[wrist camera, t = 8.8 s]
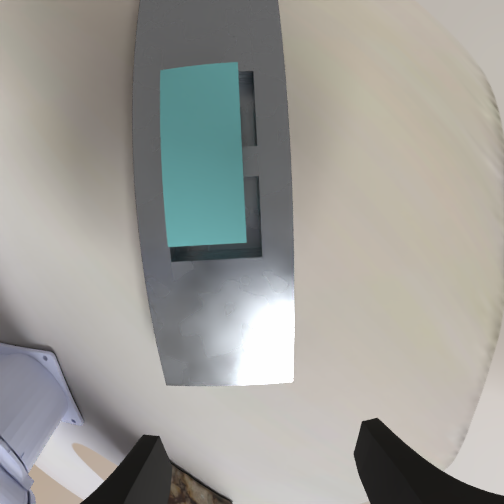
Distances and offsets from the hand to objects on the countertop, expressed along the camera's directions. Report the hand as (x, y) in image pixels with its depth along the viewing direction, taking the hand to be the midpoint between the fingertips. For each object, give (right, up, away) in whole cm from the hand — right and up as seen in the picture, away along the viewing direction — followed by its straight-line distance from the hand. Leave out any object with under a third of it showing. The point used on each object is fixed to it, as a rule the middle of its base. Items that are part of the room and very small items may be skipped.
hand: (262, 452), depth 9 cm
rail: (-2, +12, +7) cm, 14 cm away
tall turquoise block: (-2, +12, +6) cm, 14 cm away
